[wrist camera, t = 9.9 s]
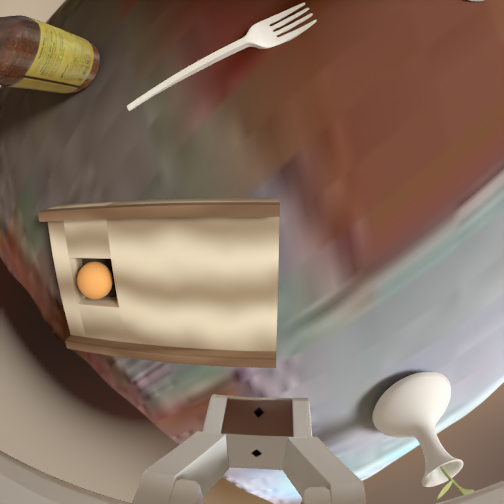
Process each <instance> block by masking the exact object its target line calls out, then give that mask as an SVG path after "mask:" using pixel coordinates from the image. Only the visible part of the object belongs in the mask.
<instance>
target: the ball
mask: <svg viewBox="0 0 504 504" xmlns="http://www.w3.org/2000/svg"><path fill="white" fill-rule="evenodd" d="M112 283H113V278H112V274H111V272H110V270H109V269H108V267H107V266H105V265H104V264H102V263H100V262H89V263H87V264H85V265H84V266H83V267H82V268H81V269H80V271H79V273H78V276H77V284H78V287H79V290H80V291H81V293H82V294H83V295H84V296H86V297H88V298H90V299H101V298H103V297H105V296H106V295H107V294H108V293H109V292H110V290H111V288H112Z"/></svg>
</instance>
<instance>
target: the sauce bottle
mask: <svg viewBox="0 0 504 504" xmlns="http://www.w3.org/2000/svg"><path fill="white" fill-rule="evenodd" d="M99 65H100V54H99V52H98V49H97V48H96V47H95V46H94V45H92V44H90V43H89V42H88V41H87V40H85V39H83V38H81V37H79V36H76V35H74V34H71V33H69V32H66V31H64V30H62V29H59V28H56V27H54V26H51V25H49V24H46V23H43V22H40V21H38V20H35V19H32V18H29V17H26V16H8V17H0V85H2V86H5V87H16V88H26V89H35V90H42V91H50V92H57V93H68V94H70V93H74V92H77V91H80V90H82V89H84V88H86V87H87V86H88V85H89V84H90V83H91V82H92V81H93V79H94V78H95V75H96V74H97V72H98V69H99Z"/></svg>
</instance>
